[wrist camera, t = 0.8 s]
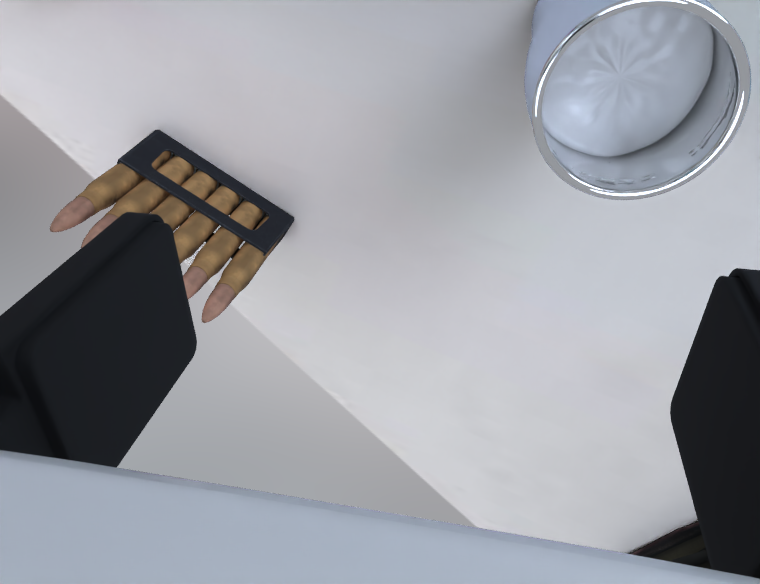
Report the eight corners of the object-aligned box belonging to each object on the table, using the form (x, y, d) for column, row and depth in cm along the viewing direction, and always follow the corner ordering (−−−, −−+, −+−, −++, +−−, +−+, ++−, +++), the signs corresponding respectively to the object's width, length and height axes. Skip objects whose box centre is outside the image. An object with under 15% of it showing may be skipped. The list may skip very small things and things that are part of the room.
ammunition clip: (147, 150, 41) (30, 232, 31) (156, 128, 40) (37, 206, 30) (283, 237, 43) (212, 341, 33) (295, 218, 42) (225, 320, 32)
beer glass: (496, 45, 33) (483, 136, 21) (583, -85, 29) (628, -66, 17) (598, 114, 34) (643, 241, 22) (695, -2, 30) (815, 72, 18)
